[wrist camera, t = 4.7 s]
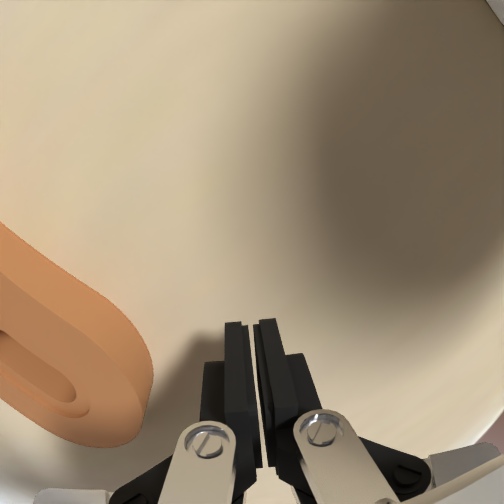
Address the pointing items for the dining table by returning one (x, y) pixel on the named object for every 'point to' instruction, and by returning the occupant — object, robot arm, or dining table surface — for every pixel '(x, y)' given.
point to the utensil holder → (497, 8)
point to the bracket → (68, 352)
